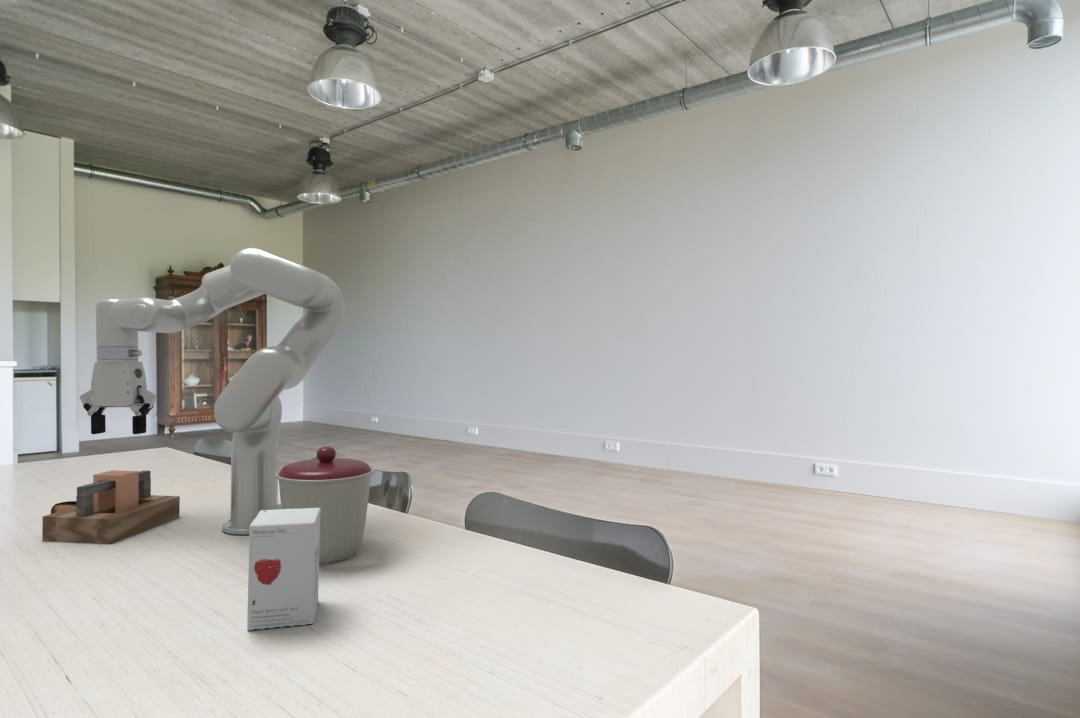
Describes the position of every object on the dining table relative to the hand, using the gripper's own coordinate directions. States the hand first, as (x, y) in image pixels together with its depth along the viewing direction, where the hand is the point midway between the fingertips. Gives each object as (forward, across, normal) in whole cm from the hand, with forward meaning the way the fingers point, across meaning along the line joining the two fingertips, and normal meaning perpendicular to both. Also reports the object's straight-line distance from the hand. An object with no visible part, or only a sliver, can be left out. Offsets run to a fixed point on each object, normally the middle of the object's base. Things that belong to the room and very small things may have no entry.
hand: (118, 433), depth 131 cm
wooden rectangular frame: (+21, +1, 0) cm, 21 cm away
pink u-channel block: (+17, +1, 0) cm, 17 cm away
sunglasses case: (+21, +13, -10) cm, 27 cm away
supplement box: (+22, -58, +37) cm, 72 cm away
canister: (+22, -52, +11) cm, 58 cm away
